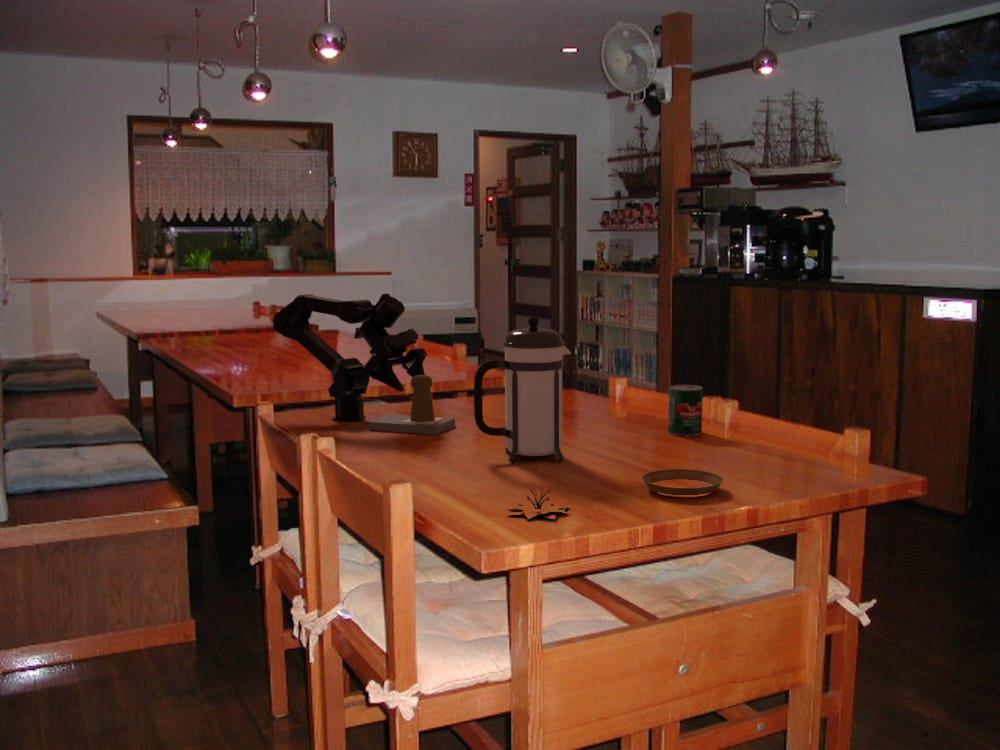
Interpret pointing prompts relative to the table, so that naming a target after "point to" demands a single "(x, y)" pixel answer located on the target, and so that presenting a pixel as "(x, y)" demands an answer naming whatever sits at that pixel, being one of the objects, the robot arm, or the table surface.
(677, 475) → the plant saucer
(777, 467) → the table surface
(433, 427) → the dock step
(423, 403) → the cork
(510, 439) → the coffee press
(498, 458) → the table surface
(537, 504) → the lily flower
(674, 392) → the canned tomato
